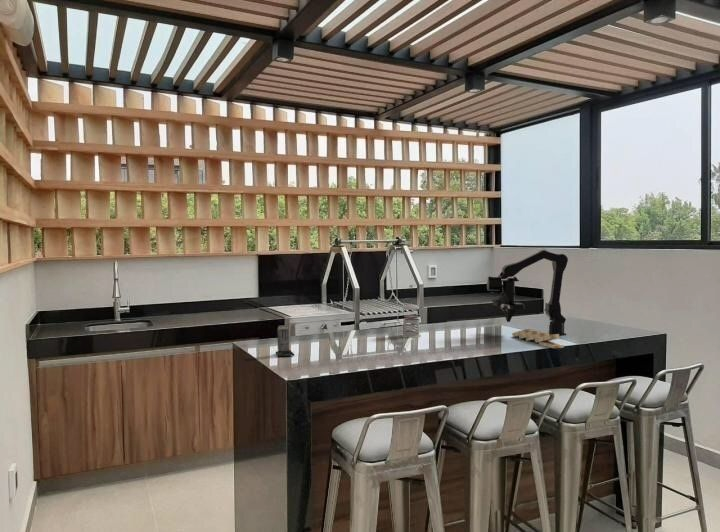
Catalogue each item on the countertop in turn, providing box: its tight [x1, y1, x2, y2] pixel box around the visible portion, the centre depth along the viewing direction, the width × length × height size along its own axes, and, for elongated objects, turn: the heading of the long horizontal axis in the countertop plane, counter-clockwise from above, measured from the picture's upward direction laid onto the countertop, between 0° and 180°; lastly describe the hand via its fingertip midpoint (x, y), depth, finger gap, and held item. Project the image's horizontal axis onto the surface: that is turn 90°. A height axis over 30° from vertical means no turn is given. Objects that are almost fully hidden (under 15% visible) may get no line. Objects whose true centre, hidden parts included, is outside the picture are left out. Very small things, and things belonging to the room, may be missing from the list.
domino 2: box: [518, 330, 542, 340], centre depth 256 cm, size 5×2×10 cm
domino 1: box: [511, 328, 535, 338], centre depth 262 cm, size 5×2×10 cm
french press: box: [397, 284, 422, 339], centre depth 268 cm, size 10×12×25 cm
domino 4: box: [534, 334, 560, 343], centre depth 246 cm, size 5×2×10 cm
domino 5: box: [538, 340, 565, 349], centre depth 243 cm, size 5×2×10 cm
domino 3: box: [525, 331, 550, 342], centre depth 252 cm, size 5×2×10 cm
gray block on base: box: [274, 324, 295, 357], centre depth 225 cm, size 9×8×12 cm
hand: (508, 321), depth 273 cm, fingers closed
